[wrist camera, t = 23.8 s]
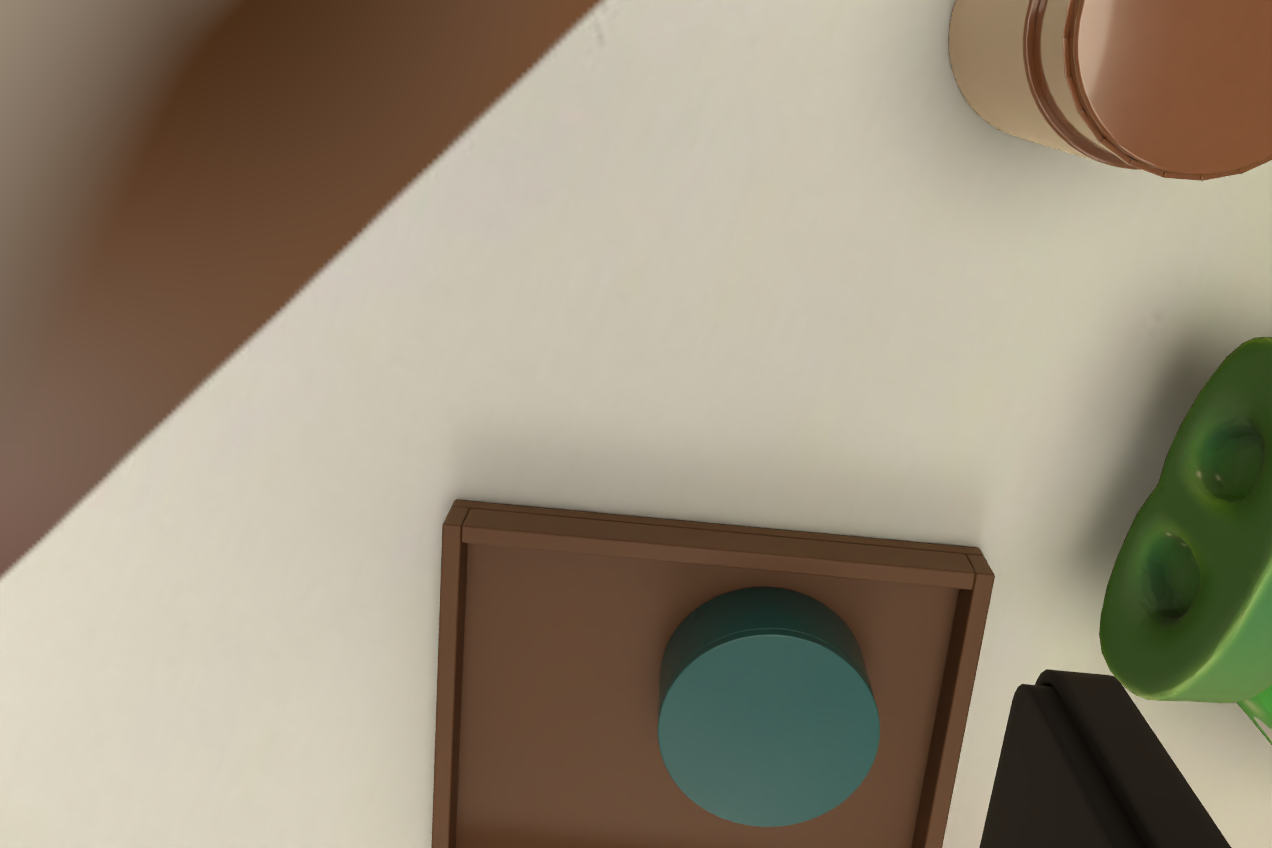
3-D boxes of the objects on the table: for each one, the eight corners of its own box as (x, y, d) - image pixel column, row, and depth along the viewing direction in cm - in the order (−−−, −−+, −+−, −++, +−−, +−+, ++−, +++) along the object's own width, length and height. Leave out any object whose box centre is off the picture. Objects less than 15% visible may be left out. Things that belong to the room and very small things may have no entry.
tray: (441, 859, 43) (429, 899, 41) (454, 499, 39) (442, 524, 37) (912, 904, 43) (923, 946, 41) (979, 547, 39) (995, 575, 37)
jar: (933, 132, 35) (1039, 174, 24) (966, -90, 33) (1096, -149, 22) (1139, 148, 35) (1335, 197, 24) (1184, -74, 33) (1418, -126, 22)
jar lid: (699, 790, 41) (699, 853, 38) (627, 624, 39) (622, 675, 36) (891, 733, 40) (908, 791, 37) (827, 558, 38) (840, 605, 35)
